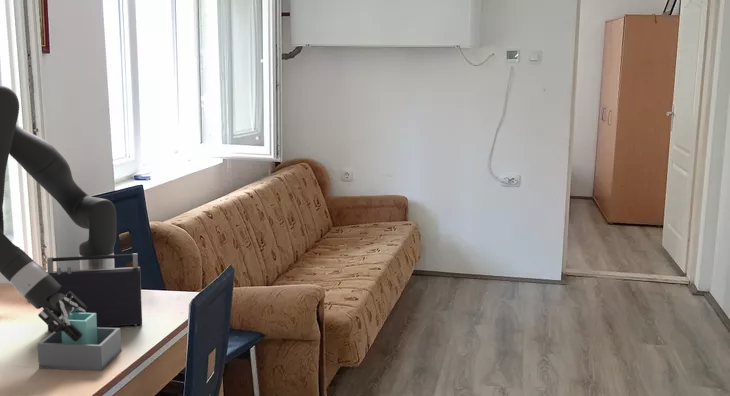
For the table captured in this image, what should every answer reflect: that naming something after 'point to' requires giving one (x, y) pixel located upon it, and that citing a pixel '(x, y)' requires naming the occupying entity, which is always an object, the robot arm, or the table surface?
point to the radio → (104, 289)
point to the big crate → (79, 351)
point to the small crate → (82, 328)
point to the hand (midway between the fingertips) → (86, 332)
